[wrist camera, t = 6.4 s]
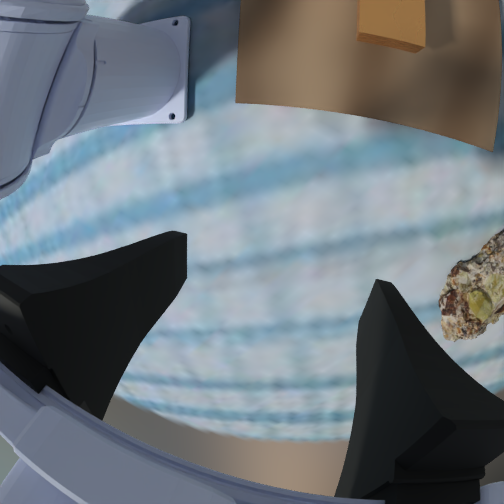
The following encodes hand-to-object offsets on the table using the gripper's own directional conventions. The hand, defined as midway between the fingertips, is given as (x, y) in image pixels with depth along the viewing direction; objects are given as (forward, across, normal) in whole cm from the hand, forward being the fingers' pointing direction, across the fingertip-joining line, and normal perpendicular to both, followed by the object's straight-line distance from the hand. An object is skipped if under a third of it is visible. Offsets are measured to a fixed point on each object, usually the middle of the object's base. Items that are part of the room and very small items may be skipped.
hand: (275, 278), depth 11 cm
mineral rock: (+11, -16, +3) cm, 20 cm away
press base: (+10, -2, -18) cm, 20 cm away
